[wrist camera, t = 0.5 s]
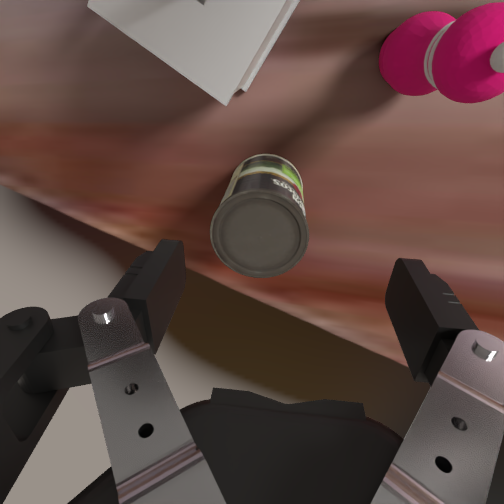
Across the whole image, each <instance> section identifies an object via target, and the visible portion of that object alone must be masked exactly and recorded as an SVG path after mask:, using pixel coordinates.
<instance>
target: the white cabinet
mask: <svg viewBox="0 0 504 504" xmlns="http://www.w3.org/2000/svg"><path fill="white" fill-rule="evenodd" d="M299 1H300V0H206V2H205V4H204V5H203V4H201V3H200V2H199V1H198V0H89V2H88V5H87V7H89V8H90V9H91V10H93V11H94V12H96V13H97V14H98V15H100V16H101V17H102V18H104V19H105V20H107V21H108V22H109V23H111V24H112V25H114V26H115V27H116V28H118V29H119V30H121V31H122V32H123V33H125V34H126V35H128V36H129V37H130V38H132V39H133V40H135V41H136V42H137V43H139V44H140V45H141V46H143V47H144V48H146V49H147V50H148V51H150V52H151V53H153V54H154V55H155V56H157V57H158V58H160V59H161V60H162V61H164V62H165V63H167V64H168V65H169V66H171V67H172V68H174V69H175V70H176V71H178V72H179V73H180V74H182V75H183V76H185V77H186V78H187V79H189V80H190V81H192V82H193V83H194V84H196V85H197V86H199V87H200V88H201V89H203V90H204V91H206V92H207V93H208V94H210V95H211V96H212V97H214V98H215V99H217V100H218V101H219V102H221V103H222V104H224V105H225V106H227V105H228V103H229V101H230V100H231V98H232V96H233V94H234V93H235V92H236V91H238V90H239V89H240V88H241V89H242V90H244V91H245V92H246V91H247V90H248V88H249V86H250V85H251V83H252V81H253V79H254V78H255V76H256V74H257V73H258V71H259V69H260V68H261V66H262V64H263V63H264V61H265V59H266V57H267V56H268V54H269V52H270V51H271V49H272V47H273V46H274V44H275V42H276V40H277V39H278V37H279V35H280V34H281V32H282V30H283V29H284V27H285V25H286V23H287V22H288V20H289V18H290V17H291V15H292V13H293V12H294V10H295V8H296V6H297V5H298V3H299Z"/></svg>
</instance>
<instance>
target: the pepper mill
mask: <svg viewBox="0 0 504 504" xmlns="http://www.w3.org/2000/svg"><path fill="white" fill-rule="evenodd" d="M379 69H380V72H381V75H382V76H383V78H384V79H385V81H386V82H388V83H389V85H390V86H391V87H392V88H393V89H394V90H396V91H397V92H399V93H401V94H404V95H410V96H420V95H425V94H429V93H431V92H433V91H435V90H437V89H438V90H439V91H440V93H441V94H443V95H444V96H446V97H447V98H449V99H451V100H453V101H456V102H461V103H476V102H482V101H485V100H489V99H491V98H493V97H495V96H497V95H499V94H501V93H503V92H504V3H488V4H485V5H482V6H479V7H476V8H474V9H472V10H470V11H468V12H467V13H465V14H463V15H462V16H461V17H459V18H458V19H457V20H456V19H455V18H453V17H452V16H450V15H449V14H446V13H443V12H438V11H430V12H423V13H419V14H417V15H415V16H413V17H411V18H409V19H408V20H406V21H405V22H404V23H403V24H401V25H400V26H399V27H398V28H396V29H395V30H394V31H393V32H392V33H391V34H390V35H389V36H388V37H387V39H386V40H385V42H384V44H383V45H382V48H381V51H380V55H379Z"/></svg>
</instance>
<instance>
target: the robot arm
mask: <svg viewBox="0 0 504 504" xmlns="http://www.w3.org/2000/svg"><path fill="white" fill-rule="evenodd" d="M185 282H186V269H185V258H184V247H183V242H182V241H178V240H165V239H162V240H161V241H160V242H159V244H158V245H157V247H156V248H155V250H154V251H146V252H145V253H143V254H142V255H140V256H138V257H137V258H136V259H135V261H134V262H133V263H132V265H131V266H130V268H129V269H128V270H127V271H126V273H125V275H124V276H123V277H122V278H121V280H120V281H119V282H118V284H117V285H116V287H115V288H114V289H113V291H112V292H111V293H110V295H109V296H108V297H107V298H103V299H99V300H96V301H93V302H91V303H90V304H88V305H86V306H85V307H84V308H83V309H82V310H81V311H80V313H79V315H78V316H72V317H65V318H58V319H50V317H49V315H48V312H47V311H46V310H45V309H43V308H40V307H26V308H21V309H18V310H15V311H12V312H10V313H8V314H6V315H5V316H3V317H2V318H0V504H3V502H4V500H5V499H6V497H7V495H8V493H9V491H10V490H11V488H12V487H13V485H14V483H15V481H16V480H17V478H18V476H19V474H20V473H21V471H22V469H23V468H24V466H25V464H26V462H27V461H28V459H29V457H30V455H31V454H32V452H33V450H34V448H35V447H36V445H37V443H38V441H39V440H40V438H41V436H42V435H43V433H44V431H45V429H46V428H47V426H48V424H49V422H50V421H51V419H52V417H53V416H54V414H55V412H56V410H57V409H58V407H59V405H60V403H61V402H62V400H63V398H64V396H65V395H66V393H67V391H68V390H69V388H70V387H75V386H81V385H86V384H92V387H93V391H94V395H95V400H96V404H97V408H98V412H99V416H100V420H101V424H102V429H103V433H104V437H105V441H106V446H107V450H108V454H109V458H110V462H111V467H110V468H109V469H107V470H106V471H105V472H104V473H103V474H101V475H100V476H99V477H98V478H97V479H96V480H95V481H93V482H92V483H91V484H90V485H89V486H87V487H86V488H85V489H84V490H83V491H82V492H80V493H79V494H78V495H77V496H76V497H75V498H74V499H72V500H71V501H70V502H69V503H68V504H485V503H486V499H487V496H488V492H489V488H490V484H491V480H492V476H493V472H494V468H495V464H496V460H497V456H498V453H499V449H500V445H501V441H502V437H503V433H504V342H503V341H501V340H500V339H498V338H497V337H495V336H493V335H491V334H488V333H486V332H483V331H479V329H478V328H477V326H476V325H475V323H474V322H473V320H472V319H471V318H470V316H469V315H468V313H467V312H466V310H465V309H464V307H463V306H462V304H460V302H459V300H458V299H457V297H456V296H454V293H453V291H452V290H451V288H450V287H449V286H448V284H447V283H446V282H444V281H443V280H442V279H441V278H439V277H438V276H437V275H435V274H430V272H429V271H428V269H427V268H426V266H425V265H424V263H423V262H422V260H418V259H405V258H398V259H397V260H396V262H395V265H394V268H393V271H392V275H391V278H390V281H389V284H388V287H387V290H386V295H385V305H386V309H387V311H388V314H389V317H390V319H391V322H392V324H393V327H394V330H395V332H396V335H397V337H398V340H399V343H400V345H401V348H402V351H403V353H404V356H405V358H406V361H407V364H408V366H409V369H410V371H411V374H412V376H413V379H414V381H418V382H428V383H429V384H430V386H431V388H430V390H429V392H428V394H427V396H426V398H425V400H424V402H423V404H422V406H421V408H420V410H419V411H418V413H417V415H416V417H415V419H414V421H413V423H412V425H411V427H410V429H409V431H408V433H407V435H406V436H405V438H404V439H403V438H402V437H401V436H399V435H398V434H397V433H395V432H394V431H393V430H391V429H390V428H389V427H387V426H385V425H383V424H382V423H380V422H378V421H376V420H374V419H372V418H369V417H366V416H365V412H364V407H363V403H356V402H345V401H336V400H327V399H324V400H316V401H309V402H302V403H295V404H284V403H281V402H278V401H275V400H272V399H270V398H267V397H264V396H261V395H258V394H255V393H252V392H249V391H240V390H232V389H222V388H213V391H212V395H211V399H209V400H203V401H200V402H196V403H193V404H191V405H188V406H186V407H184V408H182V409H180V410H179V408H178V406H177V404H176V401H175V399H174V397H173V395H172V393H171V391H170V388H169V386H168V384H167V382H166V380H165V378H164V376H163V373H162V371H161V369H160V367H159V364H158V362H157V360H156V358H155V356H154V354H156V352H157V350H158V348H159V346H160V343H161V341H162V339H163V336H164V334H165V332H166V329H167V327H168V325H169V323H170V320H171V318H172V316H173V313H174V311H175V309H176V306H177V304H178V302H179V300H180V297H181V295H182V293H183V290H184V288H185Z"/></svg>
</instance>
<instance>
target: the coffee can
mask: <svg viewBox="0 0 504 504" xmlns="http://www.w3.org/2000/svg"><path fill="white" fill-rule="evenodd" d="M210 239H211V243H212V246H213V249H214V251H215V253H216V254H217V256H218V257H219V259H220V260H221V261H222V262H223V263H224V264H225V265H226V266H227V267H229V268H230V269H232V270H233V271H235V272H237V273H239V274H242V275H245V276H249V277H255V278H268V277H274V276H277V275H280V274H283V273H285V272H287V271H288V270H290V269H291V268H293V267H294V266H295V265H296V264H297V263H298V262H299V261H300V260H301V259H302V257H303V256H304V254H305V252H306V249H307V246H308V242H309V229H308V224H307V221H306V215H305V208H304V200H303V186H302V180H301V177H300V175H299V173H298V171H297V169H296V168H295V167H294V166H293V165H292V164H291V163H290V162H289V161H287V160H286V159H284V158H282V157H280V156H277V155H274V154H259V155H255V156H252V157H250V158H248V159H246V160H244V161H243V162H242V163H241V164H240V165H239V166H238V167H237V168H236V170H235V171H234V173H233V175H232V178H231V181H230V184H229V186H228V188H227V190H226V192H225V195H224V197H223V199H222V201H221V203H220V206H219V207H218V209H217V210H216V212H215V214H214V216H213V218H212V221H211V225H210Z"/></svg>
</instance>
